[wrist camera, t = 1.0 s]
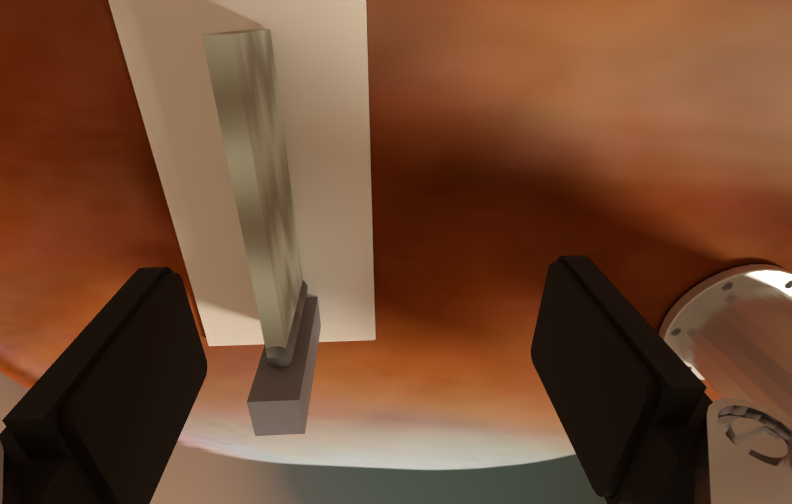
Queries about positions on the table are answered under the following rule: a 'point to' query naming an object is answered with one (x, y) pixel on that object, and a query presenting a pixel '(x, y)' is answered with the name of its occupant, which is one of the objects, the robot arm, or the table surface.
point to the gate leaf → (260, 181)
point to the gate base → (307, 163)
